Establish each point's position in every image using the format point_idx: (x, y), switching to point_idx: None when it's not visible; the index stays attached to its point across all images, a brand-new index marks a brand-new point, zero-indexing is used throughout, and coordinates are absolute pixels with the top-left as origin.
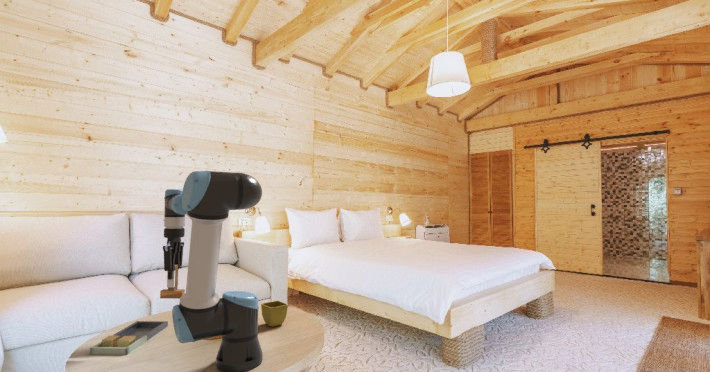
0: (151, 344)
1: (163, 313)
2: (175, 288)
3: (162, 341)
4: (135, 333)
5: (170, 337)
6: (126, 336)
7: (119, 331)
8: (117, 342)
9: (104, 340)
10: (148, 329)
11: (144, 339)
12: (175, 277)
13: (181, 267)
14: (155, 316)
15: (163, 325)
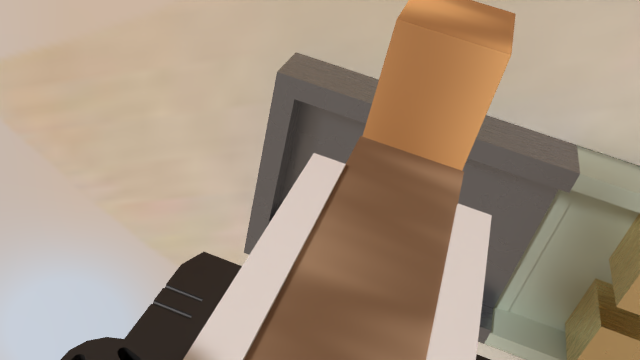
0: (609, 114)
1: (7, 118)
2: (421, 175)
3: (575, 49)
4: None
5: (502, 3)
6: (638, 297)
7: None
8: (626, 313)
9: None
10: None
11: (613, 176)
12: (399, 312)
13: (92, 354)
14: (62, 154)
15: (346, 90)
